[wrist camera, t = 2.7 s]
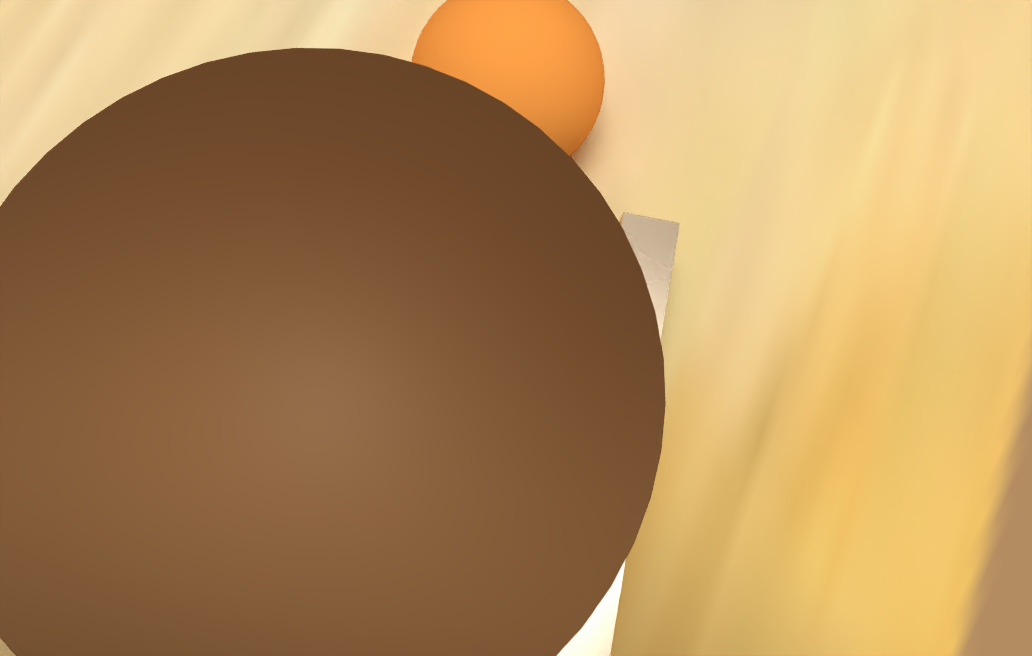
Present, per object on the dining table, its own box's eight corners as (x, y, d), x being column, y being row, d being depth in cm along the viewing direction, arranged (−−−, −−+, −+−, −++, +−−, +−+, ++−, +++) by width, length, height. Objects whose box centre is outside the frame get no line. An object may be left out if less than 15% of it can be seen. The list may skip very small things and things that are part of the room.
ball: (479, 239, 19) (482, 172, 16) (381, 98, 20) (362, 2, 17) (626, 145, 20) (659, 61, 17) (526, 11, 21) (539, -99, 17)
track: (581, 706, 18) (598, 730, 15) (199, 632, 18) (160, 644, 15) (655, 260, 20) (679, 223, 17) (309, 192, 20) (288, 146, 17)
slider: (519, 655, 17) (671, 980, 4) (273, 607, 17) (-310, 790, 4) (576, 339, 19) (822, -138, 6) (348, 294, 19) (68, -286, 6)
